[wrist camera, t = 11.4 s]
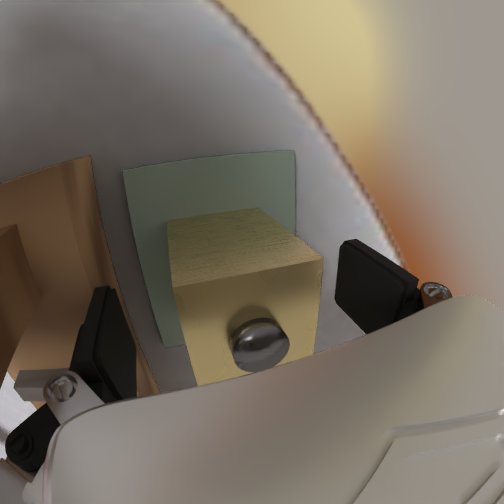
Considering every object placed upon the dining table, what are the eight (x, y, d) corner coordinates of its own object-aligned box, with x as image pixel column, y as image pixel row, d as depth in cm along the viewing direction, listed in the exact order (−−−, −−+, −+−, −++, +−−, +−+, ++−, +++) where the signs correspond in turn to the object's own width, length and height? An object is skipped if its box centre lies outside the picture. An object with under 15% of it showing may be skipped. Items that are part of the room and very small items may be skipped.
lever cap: (166, 220, 12) (174, 299, 7) (258, 207, 13) (334, 266, 8) (183, 310, 14) (205, 412, 9) (261, 294, 15) (317, 380, 10)
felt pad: (123, 170, 11) (122, 170, 11) (290, 150, 13) (294, 150, 13) (164, 343, 15) (164, 347, 15) (290, 315, 17) (293, 319, 17)
